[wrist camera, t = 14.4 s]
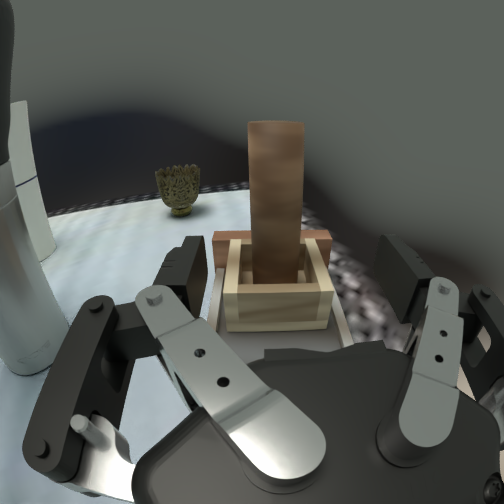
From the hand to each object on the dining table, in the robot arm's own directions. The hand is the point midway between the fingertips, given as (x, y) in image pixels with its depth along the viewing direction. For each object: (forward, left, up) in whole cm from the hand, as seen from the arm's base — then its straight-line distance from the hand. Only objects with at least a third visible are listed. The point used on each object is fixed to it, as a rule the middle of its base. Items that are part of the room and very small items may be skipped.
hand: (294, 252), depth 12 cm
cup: (-32, +16, -12) cm, 38 cm away
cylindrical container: (-42, -9, -12) cm, 45 cm away
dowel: (-6, +7, -9) cm, 13 cm away
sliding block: (-6, +7, -10) cm, 13 cm away
